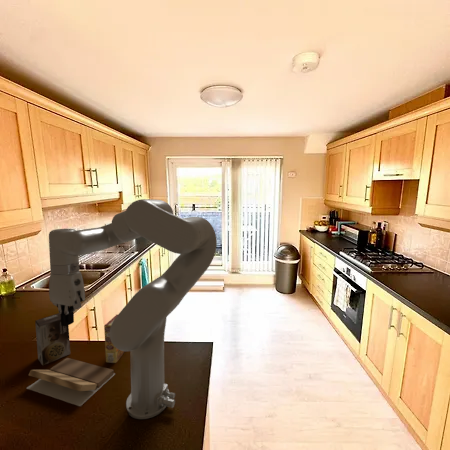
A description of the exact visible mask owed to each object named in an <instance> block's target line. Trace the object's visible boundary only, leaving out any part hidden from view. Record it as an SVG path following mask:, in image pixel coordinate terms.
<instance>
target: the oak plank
mask: <svg viewBox="0 0 450 450" xmlns="http://www.w3.org/2000/svg"><path fill="white" fill-rule="evenodd" d="M28 376H29V377H33V378H35V379H38V380H39V379H42V380H45V381H48V382H52V383H55V384H58V385H61V386H64V387H68V388H71V389H74V390H77V391H88V390H95V389H96V386H97V384H95V383H92V382H88V381H85V380H81V379H78V378H75V377H71V376H68V375H64V374H61V373H57V372H54V371H51V370H50V369H30V370H29V373H28Z"/></svg>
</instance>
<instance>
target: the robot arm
mask: <svg viewBox="0 0 450 450" xmlns="http://www.w3.org/2000/svg"><path fill="white" fill-rule="evenodd" d="M140 238H143V239H146V240H147V241H148V242H151V243H153V244H155V245H156V246H159V247H161V248H163V249H165V250H167V251H169V252H171V253H174V254H178V256H177V257H176V258H175V259H174V260H173V262H172V263H171V264H170V265H169V267H168V268H167V269H166V270H165V271H164V272H163V274H161V275H160V276H159V277H157V278H155V279H154V280H152V281H151V282H149V283H148V284H145V285H144V286H143V287H141V288H140V289H139V290H138V291H137V292H136V293H135V294H134V295H133V296H132V297H131V299H130V300H129V301H128V302H127V304H126V305H125V306H124V307H123V308H122V309H121V310H120V312H118V314H116V315H117V317H116V318H115V319H114V321H113V323H112V325H111V328H110V339H111V342H112V344H113V345H114V346H115V347H116V348H117V349H119V350H121V351H125V352H130V354H129V355H130V356H129V357H130V359H129V360H130V387H131V388H130V394H128V397H127V398H126V401H125V407H126V411H127V414H128V416H130V417H131V418H133V419H136V420H148V419H150V418H154V417H156V416H158V415H159V414H161V413H162V412H163V411H164V410H165V409H166V408H167V407H168V408H171V409H173V408H174V407H175V404H176V399H175V397H176V393H175V392H170V390H169V387H168V384H167V383H165V333H166V331H165V330H166V326H167V318H168V316H169V315H170V314H172V312H173V311H174V310H175V309H176V308H177V307H178V306H179V305H180V304H181V302H182V301H183V300H184V297H185V296H186V295H187V294H188V293H189V292H190V290H191V289H192V288H193V287H195V285H196V283H197V282H198V281H199V280H200V279H201V278H202V276H204V274H205V272H206V271H207V270H208V269H209V267H210V266H211V265H212V261H213V260H214V259H215V258H214V257H215V255H216V252H217V244H218V243H217V235H216V231H215V229H214V227H213V225H212V223H211V222H210V221H209V220H207V219H206V218H203V217H200V216H191V217H189V216H188V217H185V218H182V217H180V216H178V215H176V214H174V210H173V208H172V207H171V205H170V204H169V203H168V202H167V201H165V200H162V199H153V198H152V199H150V198H149V199H146V198H141V199H137V200H135V201H133V202H132V203H130V204H129V205H128V206H127V208H126V209H125V210H124V211H121V212H118V213H116V214H115V215H113V217H112V220H111V223H108V224H105V225H102V226H100V227H92V228H91V227H90V228H86V229H85V228H83V229H77V230H76V229H74V228H57V229H52V230H50V231H49V233H48V250H49V268H50V270H49V271H50V275H49V283H48V296H49V301H50V302H51V303H52V305H54V306H56V308H57V310H58V313H60V315H61V326H64V327H66V326H70V325H72V324H73V323H74V322H75V317H74V316H75V315H74V312H75V311H76V310H79V309H81V308H82V303H81V302H84V301H86V292H85V291H86V290H85V283H84V279H83V274H82V271H80V256H85V255H89V254H92V253H95V252H96V253H97V252H100V251H103V250H106V249H110V248H113V247H116V246H118V245H121V244H124V243H128V242H131V241H134V240H137V239H140Z"/></svg>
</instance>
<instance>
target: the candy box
mask: <svg viewBox="0 0 450 450" xmlns="http://www.w3.org/2000/svg"><path fill="white" fill-rule="evenodd" d="M117 315H118V314H115V316H113V317H112V318H111V319H110V320H109V321H108V322H107V323H105V324H104V326H103V327H104V346H105V347H104V348H105V362H106V363H111V364H116V363H117V362H118V361H119V360H120V358H121V357H122V356H123V354H124V353H126V351H121V350H119V349H117V348H116V347H115V346H114V345H113V344H112V342H111V339H110V328H111V325H112V323H113V321H114V319H115V318H116V317H117Z"/></svg>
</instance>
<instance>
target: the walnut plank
mask: <svg viewBox="0 0 450 450" xmlns="http://www.w3.org/2000/svg"><path fill="white" fill-rule="evenodd" d="M49 370H51V371H54V372H57V373H61V374H64V375H68V376H71V377H75V378H78V379H81V380H85V381H88V382H92V383H95V384H97V386H96V387H98V388H99V387H100V386H101V385H102V384H103V383H104V382H106V381H107V380H108V379H109V378H110V377H111V376H112V375H113V374H114V373H115V372H114V371H115V370H114V369H112V368H107V367H104V366H100V365H96V364H92V363H88V362H85V361H81V360H78V359H74V358H69V357H66V358H64V359H63V360H61V361H60V362H58V363H56V364H55V365H53V366H52V367H51V368H49ZM109 380H110V379H109ZM109 380H108V381H109ZM108 381H107V382H108ZM107 382H106V383H107Z"/></svg>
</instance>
